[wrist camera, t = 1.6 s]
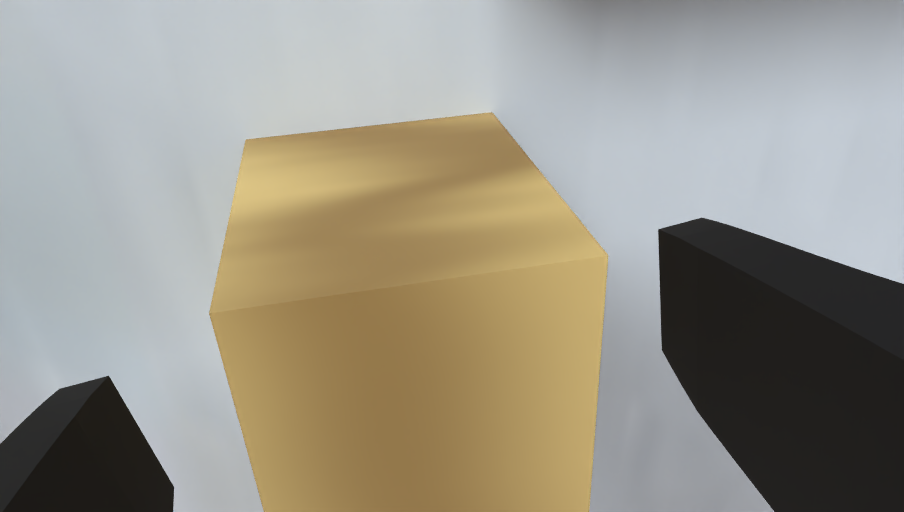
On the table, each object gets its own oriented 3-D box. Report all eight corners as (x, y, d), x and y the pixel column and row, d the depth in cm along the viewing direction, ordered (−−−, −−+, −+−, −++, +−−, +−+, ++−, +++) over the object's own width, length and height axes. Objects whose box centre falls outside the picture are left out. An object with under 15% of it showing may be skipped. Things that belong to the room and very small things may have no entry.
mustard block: (491, 112, 11) (607, 255, 7) (495, 310, 13) (588, 515, 9) (246, 138, 11) (208, 312, 6) (288, 341, 13) (282, 578, 8)
